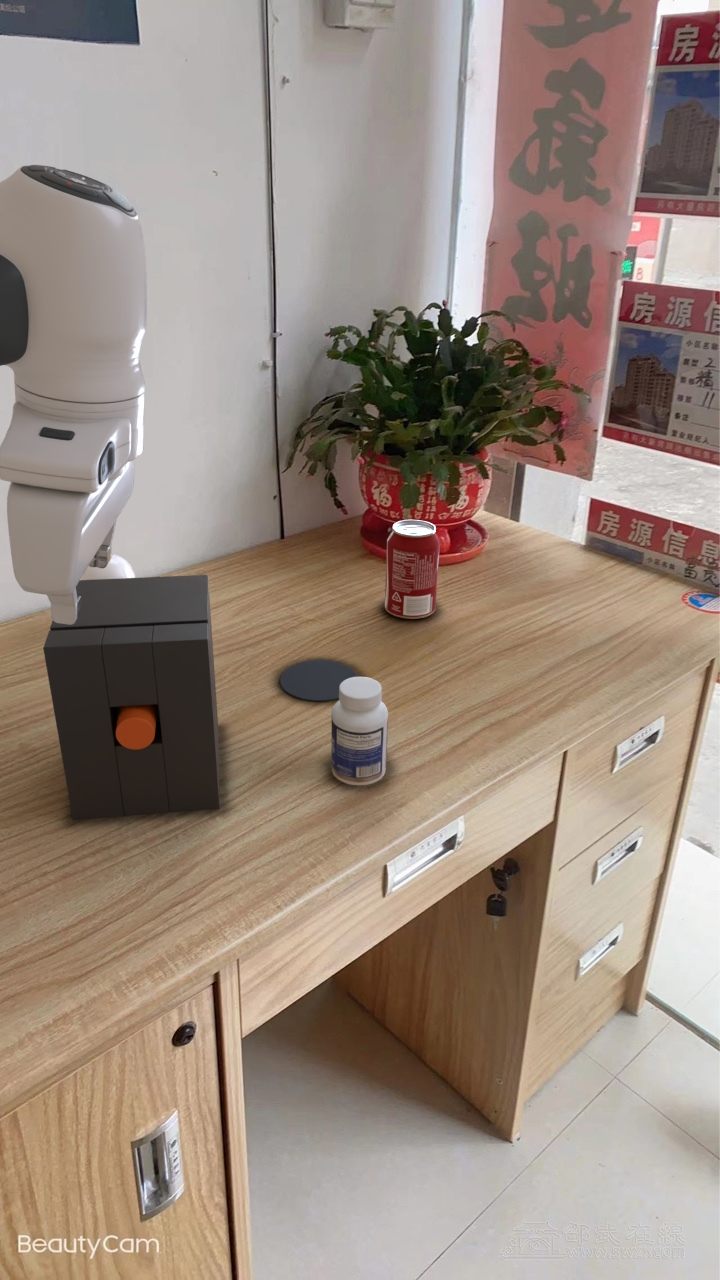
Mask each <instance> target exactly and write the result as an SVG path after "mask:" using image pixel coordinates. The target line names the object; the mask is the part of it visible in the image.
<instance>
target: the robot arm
mask: <svg viewBox="0 0 720 1280" xmlns="http://www.w3.org/2000/svg"><path fill="white" fill-rule="evenodd" d="M145 249H146V248H145V239H144V235H143V229H142V226H141V221H140V218H139V216H138V213H137V211H136V210H135V208H134V206H133V205H132V204H131V202H130V201H129V200H128V199H127V197H125V196H124V195H123V194H122V193H120V192H119V191H118V190H116V189H114V188H113V187H111V186H109V185H108V184H106V183H103V182H101V181H99V180H97V179H95V178H93V177H92V178H91V177H89V176H87V175H84V174H81V173H78V172H75V171H71V170H69V169H60V168H56V166H50V165H43V164H42V165H41V164H30V165H23V166H20V167H18V168H17V169H16V170H15V171H14V172H13V173H12V174H11V175H9V176H8V177H7V178H5V179H3V180H1V181H0V367H2V366H6V367H9V368H10V369H11V370H12V372H13V379H14V380H13V381H14V382H13V383H14V400H15V401H14V403H13V406H12V415H11V420H10V424H9V427H8V428H7V430H6V434H5V436H4V438H3V440H2V442H1V444H0V480H1V481H3V482H4V481H5V482H9V483H10V484H9V485H8V490H7V496H6V514H7V515H6V517H7V519H6V520H7V528H8V529H7V530H8V538H9V540H8V541H9V547H10V549H9V550H10V555H11V563H12V569H13V574H14V575H13V576H14V578H15V580H16V582H17V584H18V585H19V587H20V588H21V590H22V591H24V592H26V593H32V594H37V595H45V596H46V597H47V599H48V601H49V603H50V609H51V610H50V611H51V612H50V614H51V620H52V621H54V622H56V623H60V624H68V625H72V624H74V623H75V622H76V620H77V618H78V616H79V614H80V612H81V608H80V604H81V598H80V596H77V592H76V586H77V584H78V582H79V581H80V580H81V577H82V576H83V574H84V572H85V571H86V569H87V567H88V566H90V567H98V568H105V567H106V566H107V564H108V563H109V561H110V560H111V554H112V552H113V551H112V550H113V549H112V546H113V540H114V535H115V530H116V524H117V519H118V518H119V515H121V513H122V512H123V510H124V507H125V506H126V504H127V503H128V501H129V499H130V498H131V497H132V494H133V490H134V484H135V460H136V459H138V458H139V457H140V456H141V455H142V453H143V451H144V445H145V444H144V443H145V403H146V402H145V400H146V399H145V398H146V382H145V377H144V376H145V375H144V372H143V369H142V365H141V348H142V343H143V340H144V337H145V334H146V330H147V325H148V324H147V321H148V319H147V318H148V289H147V288H148V285H147V284H148V283H147V282H148V279H147V278H148V277H147V276H148V275H147V260H146V259H147V258H146V250H145Z"/></svg>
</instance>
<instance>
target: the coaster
mask: <svg viewBox="0 0 720 1280" xmlns="http://www.w3.org/2000/svg"><path fill="white" fill-rule="evenodd" d="M352 677H359V676H358V674H357V672H356V671H355V670H354V669H353V668H351V667H350V666H348V665H347V664H344V663H342V662H339V661H334V660H327V659H312V660H305V661H301V662H298V663H294V664H292V665H291V666H289V667H287V668H286V669H284V670H283V672H282V673H281V675H280V677H279V686H280V687H281V689H282V690H283V692H284V693H286V694H287V695H289V696H290V697H292V698H293V699H297V700H300V701H305V702H309V703H310V702H311V703H327V702H334V701H339V686H340V684H341V683H342V682H343V681H344V680H346V679H348V678H352Z"/></svg>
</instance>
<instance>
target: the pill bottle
mask: <svg viewBox="0 0 720 1280" xmlns="http://www.w3.org/2000/svg"><path fill="white" fill-rule="evenodd" d="M382 700H383V687H382V684H381V683H380V682H379V681H377V680H376V679H374V678H371V677H369V676H358V677H352V678H348V679H346V680H344V681H343V682H342V683H341V684H340V686H339V699H338V700H337V701H336V702H335V704H334V705H333V707H332V709H331V716H330V717H331V718H330V719H331V737H330V739H331V746H330V748H331V750H330V751H331V755H330V756H331V761H330V763H331V764H330V765H331V772H332V775H333V776H334V777H335V778H336V779H337V780H339V781H341V782H342V783H344V784H347V785H351V786H367V785H371V784H374V783H377V782H378V781H380V780H382V778H383V777H384V776H385V774H386V770H387V757H388V756H387V754H388V732H389V731H388V728H389V710H388V707H387V706H386V704H385V703H384V702H383V701H382Z"/></svg>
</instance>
